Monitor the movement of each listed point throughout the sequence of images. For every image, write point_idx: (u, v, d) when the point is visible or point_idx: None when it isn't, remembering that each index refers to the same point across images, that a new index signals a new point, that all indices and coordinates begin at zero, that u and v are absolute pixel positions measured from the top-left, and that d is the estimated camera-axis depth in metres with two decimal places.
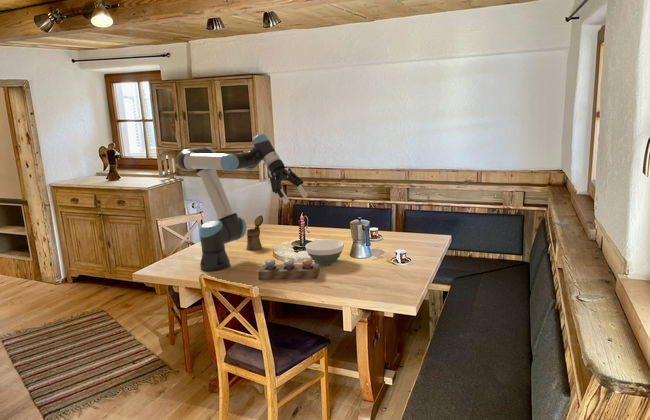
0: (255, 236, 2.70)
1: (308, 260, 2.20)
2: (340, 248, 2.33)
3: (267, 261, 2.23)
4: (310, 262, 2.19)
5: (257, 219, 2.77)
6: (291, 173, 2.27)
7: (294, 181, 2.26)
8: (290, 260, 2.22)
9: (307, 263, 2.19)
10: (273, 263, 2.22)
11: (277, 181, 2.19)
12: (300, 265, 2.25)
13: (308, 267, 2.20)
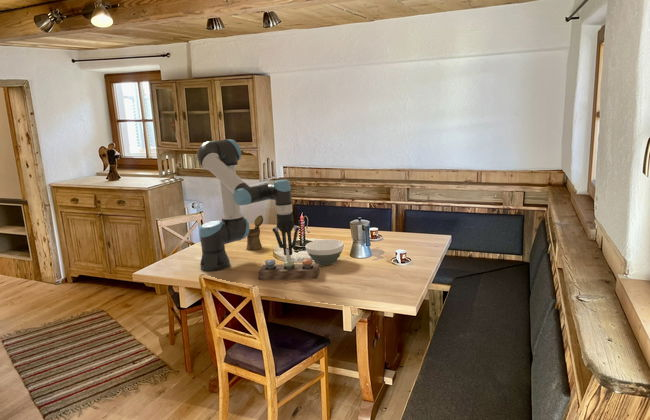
0: (255, 236, 2.70)
1: (308, 260, 2.20)
2: (340, 248, 2.33)
3: (267, 261, 2.23)
4: (310, 262, 2.19)
5: (257, 219, 2.77)
6: (294, 232, 2.18)
7: (288, 240, 2.19)
8: None
9: (307, 263, 2.19)
10: (273, 263, 2.22)
11: None
12: (300, 265, 2.25)
13: (308, 267, 2.20)
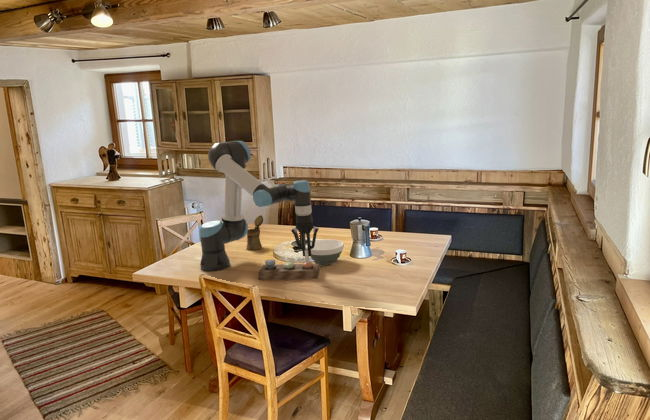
0: (255, 236, 2.70)
1: None
2: (340, 248, 2.33)
3: (267, 261, 2.23)
4: (310, 265, 2.20)
5: (257, 219, 2.77)
6: None
7: (307, 241, 2.18)
8: (290, 263, 2.22)
9: (307, 266, 2.19)
10: (273, 263, 2.22)
11: None
12: (300, 265, 2.25)
13: None
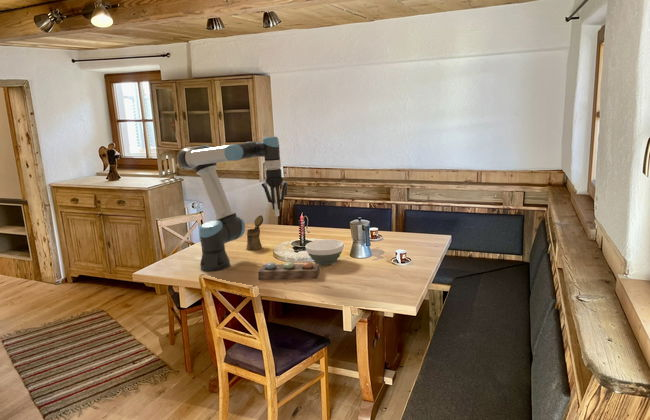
0: (255, 236, 2.70)
1: (308, 263, 2.21)
2: (340, 248, 2.33)
3: (268, 264, 2.23)
4: (310, 265, 2.20)
5: (257, 219, 2.77)
6: None
7: None
8: (290, 263, 2.22)
9: (307, 266, 2.19)
10: (273, 266, 2.22)
11: None
12: (300, 265, 2.25)
13: None
